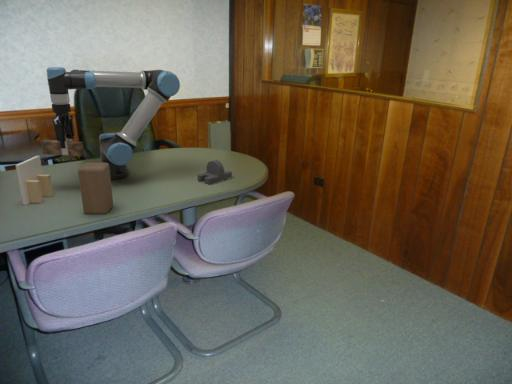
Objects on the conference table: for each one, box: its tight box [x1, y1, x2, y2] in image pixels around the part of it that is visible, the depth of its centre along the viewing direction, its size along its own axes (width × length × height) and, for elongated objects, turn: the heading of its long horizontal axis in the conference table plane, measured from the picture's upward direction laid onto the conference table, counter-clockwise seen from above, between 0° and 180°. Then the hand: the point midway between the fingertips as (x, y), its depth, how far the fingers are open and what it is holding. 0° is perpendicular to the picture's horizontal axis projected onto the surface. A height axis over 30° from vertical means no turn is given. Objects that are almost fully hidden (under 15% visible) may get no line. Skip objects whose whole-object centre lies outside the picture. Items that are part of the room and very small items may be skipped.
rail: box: [39, 138, 85, 157], centre depth 178 cm, size 18×4×6 cm, turn 87°
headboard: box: [15, 155, 54, 206], centre depth 170 cm, size 6×15×18 cm, turn 177°
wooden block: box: [77, 162, 114, 215], centre depth 161 cm, size 10×10×20 cm
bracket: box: [197, 159, 233, 186], centre depth 207 cm, size 10×18×11 cm, turn 140°
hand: (68, 153), depth 179 cm, fingers closed on rail, 4 cm apart
